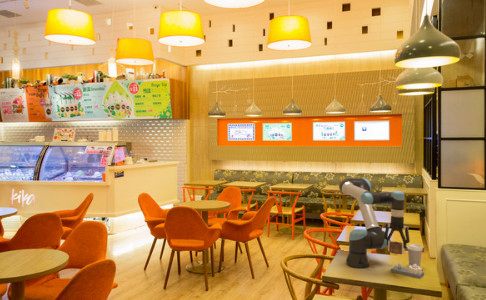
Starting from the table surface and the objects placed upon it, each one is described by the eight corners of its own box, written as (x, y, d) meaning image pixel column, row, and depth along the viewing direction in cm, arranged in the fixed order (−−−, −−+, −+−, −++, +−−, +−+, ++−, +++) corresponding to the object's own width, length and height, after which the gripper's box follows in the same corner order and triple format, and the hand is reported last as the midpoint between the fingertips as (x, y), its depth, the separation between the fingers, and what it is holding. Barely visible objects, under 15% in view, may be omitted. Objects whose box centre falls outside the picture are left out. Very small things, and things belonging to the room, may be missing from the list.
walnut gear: (387, 252, 247) (387, 243, 247) (392, 250, 253) (392, 240, 253) (400, 255, 242) (400, 245, 242) (404, 252, 248) (405, 243, 248)
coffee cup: (423, 271, 257) (424, 248, 257) (408, 269, 259) (408, 247, 259) (420, 266, 267) (421, 244, 266) (405, 265, 269) (406, 243, 268)
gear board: (390, 271, 255) (390, 261, 254) (395, 268, 261) (395, 258, 261) (419, 278, 243) (419, 267, 243) (424, 275, 250) (424, 264, 249)
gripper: (378, 214, 251) (377, 250, 252) (412, 219, 237) (411, 256, 238) (383, 212, 256) (382, 247, 257) (416, 217, 243) (415, 254, 244)
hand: (396, 252), depth 248 cm, fingers closed on walnut gear, 8 cm apart
